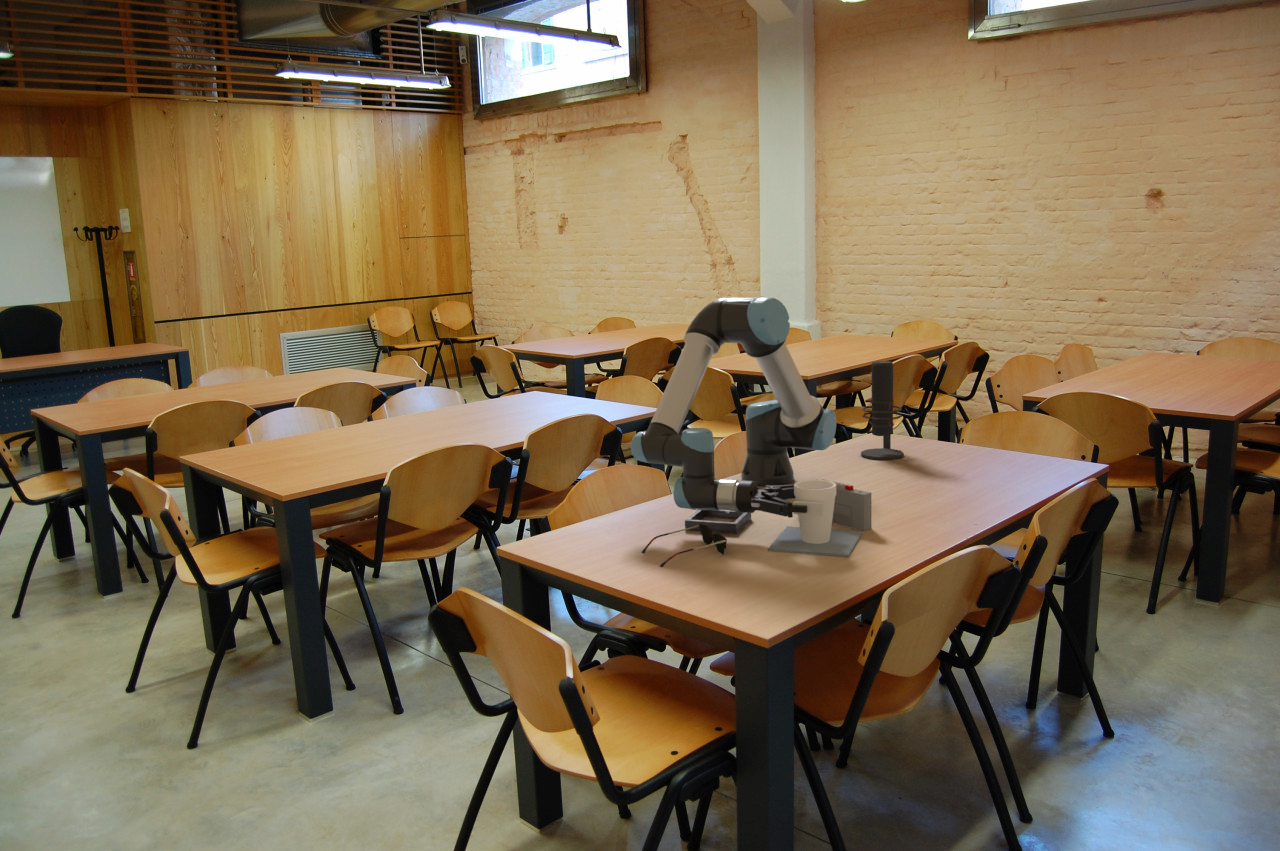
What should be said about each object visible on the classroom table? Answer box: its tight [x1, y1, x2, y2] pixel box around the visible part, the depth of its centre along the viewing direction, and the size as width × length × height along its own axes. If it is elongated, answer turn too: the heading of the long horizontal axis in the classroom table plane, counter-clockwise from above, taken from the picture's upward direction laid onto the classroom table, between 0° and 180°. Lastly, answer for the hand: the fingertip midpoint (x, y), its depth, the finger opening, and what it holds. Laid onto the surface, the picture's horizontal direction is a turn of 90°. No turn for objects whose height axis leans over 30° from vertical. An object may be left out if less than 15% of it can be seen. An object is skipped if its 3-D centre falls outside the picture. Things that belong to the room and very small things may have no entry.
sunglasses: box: [641, 524, 728, 568], centre depth 216 cm, size 14×16×5 cm
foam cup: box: [794, 479, 836, 544], centre depth 220 cm, size 10×9×13 cm
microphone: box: [860, 360, 905, 461], centre depth 303 cm, size 14×13×30 cm
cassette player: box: [825, 479, 872, 532], centre depth 234 cm, size 16×3×10 cm, turn 38°
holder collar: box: [684, 510, 752, 535], centre depth 238 cm, size 13×13×2 cm
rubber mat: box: [767, 525, 863, 558], centre depth 221 cm, size 18×18×1 cm
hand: (829, 501), depth 218 cm, fingers open, 13 cm apart
